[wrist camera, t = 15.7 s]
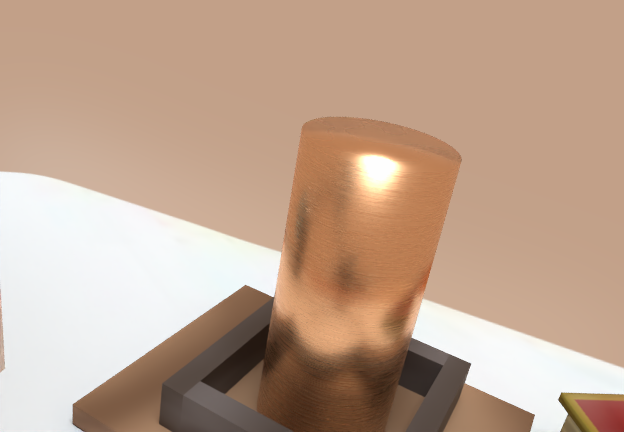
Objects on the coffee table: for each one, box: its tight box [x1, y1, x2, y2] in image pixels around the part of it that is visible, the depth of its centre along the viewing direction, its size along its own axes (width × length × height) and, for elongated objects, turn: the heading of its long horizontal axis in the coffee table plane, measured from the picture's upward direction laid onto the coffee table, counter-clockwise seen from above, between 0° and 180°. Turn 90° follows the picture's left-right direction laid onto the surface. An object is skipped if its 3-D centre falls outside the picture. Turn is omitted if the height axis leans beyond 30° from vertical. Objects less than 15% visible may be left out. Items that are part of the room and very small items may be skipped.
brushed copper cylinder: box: [257, 117, 462, 432], centre depth 23 cm, size 6×6×12 cm
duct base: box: [73, 285, 535, 432], centre depth 25 cm, size 16×12×3 cm
